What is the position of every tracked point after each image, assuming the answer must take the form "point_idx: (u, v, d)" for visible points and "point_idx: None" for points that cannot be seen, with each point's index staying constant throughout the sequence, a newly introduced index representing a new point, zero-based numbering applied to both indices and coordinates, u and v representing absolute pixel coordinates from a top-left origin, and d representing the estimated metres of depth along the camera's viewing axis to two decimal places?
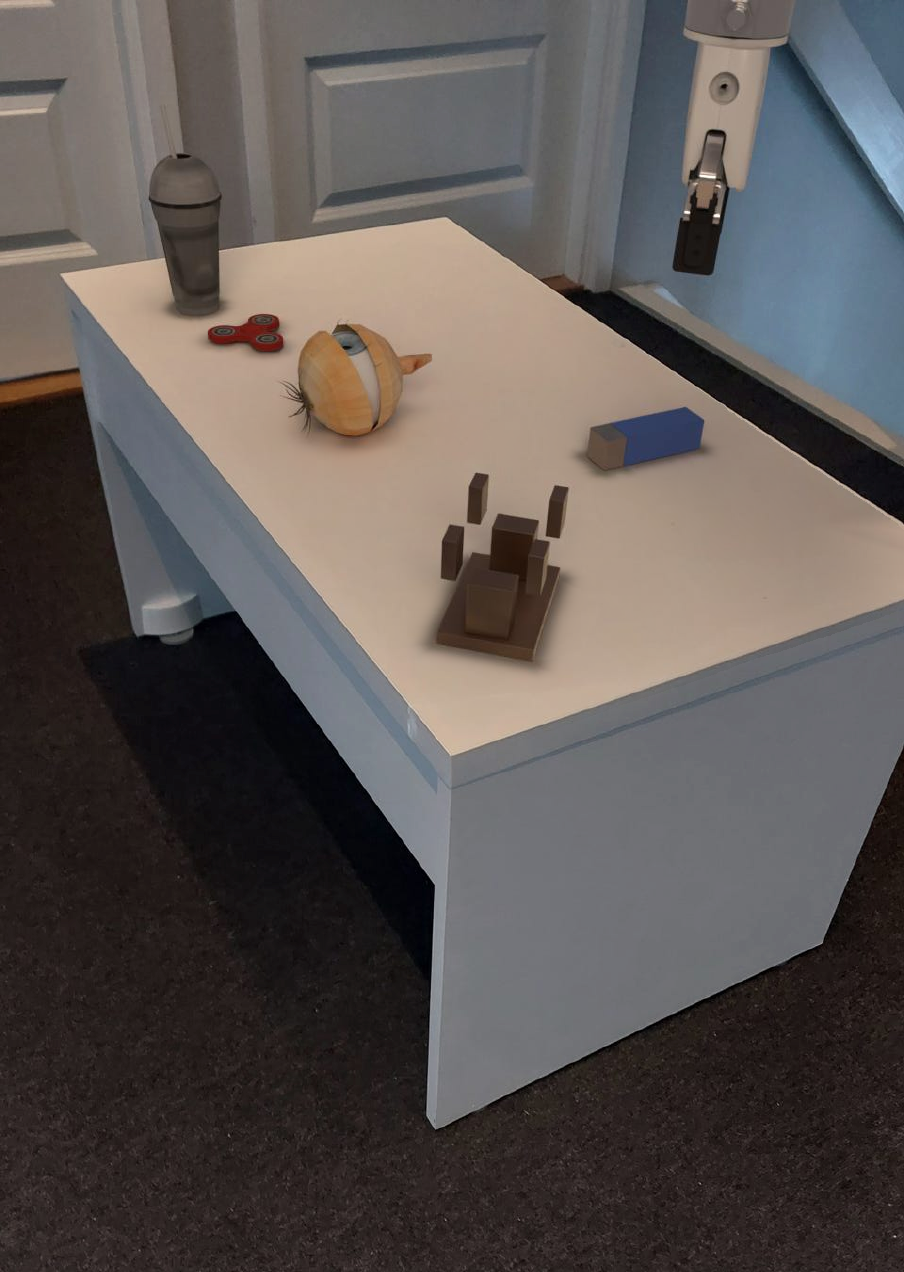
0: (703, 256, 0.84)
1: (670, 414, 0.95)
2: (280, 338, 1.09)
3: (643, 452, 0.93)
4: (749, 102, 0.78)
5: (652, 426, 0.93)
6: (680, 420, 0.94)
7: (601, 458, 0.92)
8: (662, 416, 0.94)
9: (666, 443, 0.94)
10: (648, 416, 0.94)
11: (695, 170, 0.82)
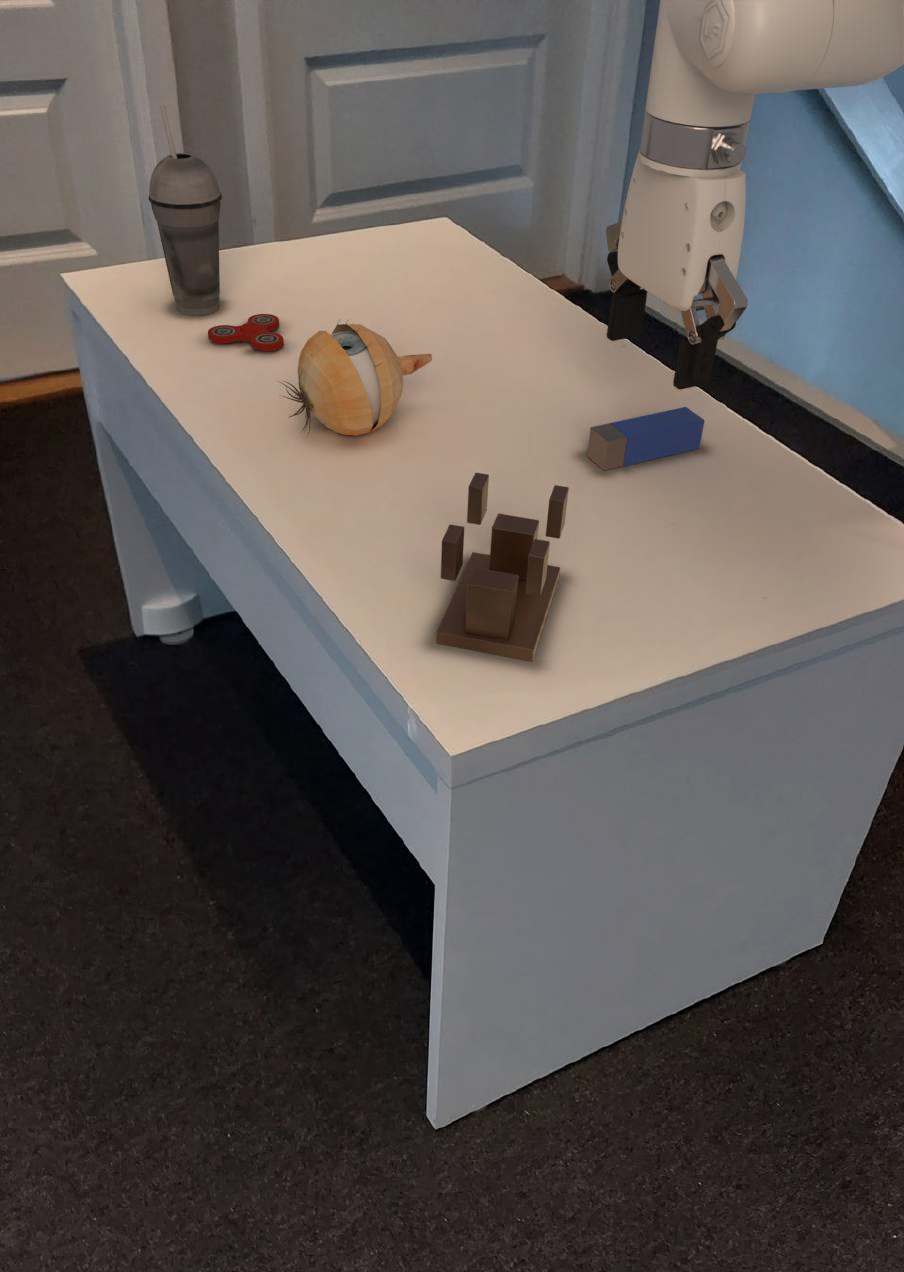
0: (708, 370, 0.85)
1: (670, 414, 0.95)
2: (280, 338, 1.09)
3: (643, 452, 0.93)
4: (741, 224, 0.80)
5: (652, 426, 0.93)
6: (680, 420, 0.94)
7: (601, 458, 0.92)
8: (662, 416, 0.94)
9: (666, 443, 0.94)
10: (648, 416, 0.94)
11: None
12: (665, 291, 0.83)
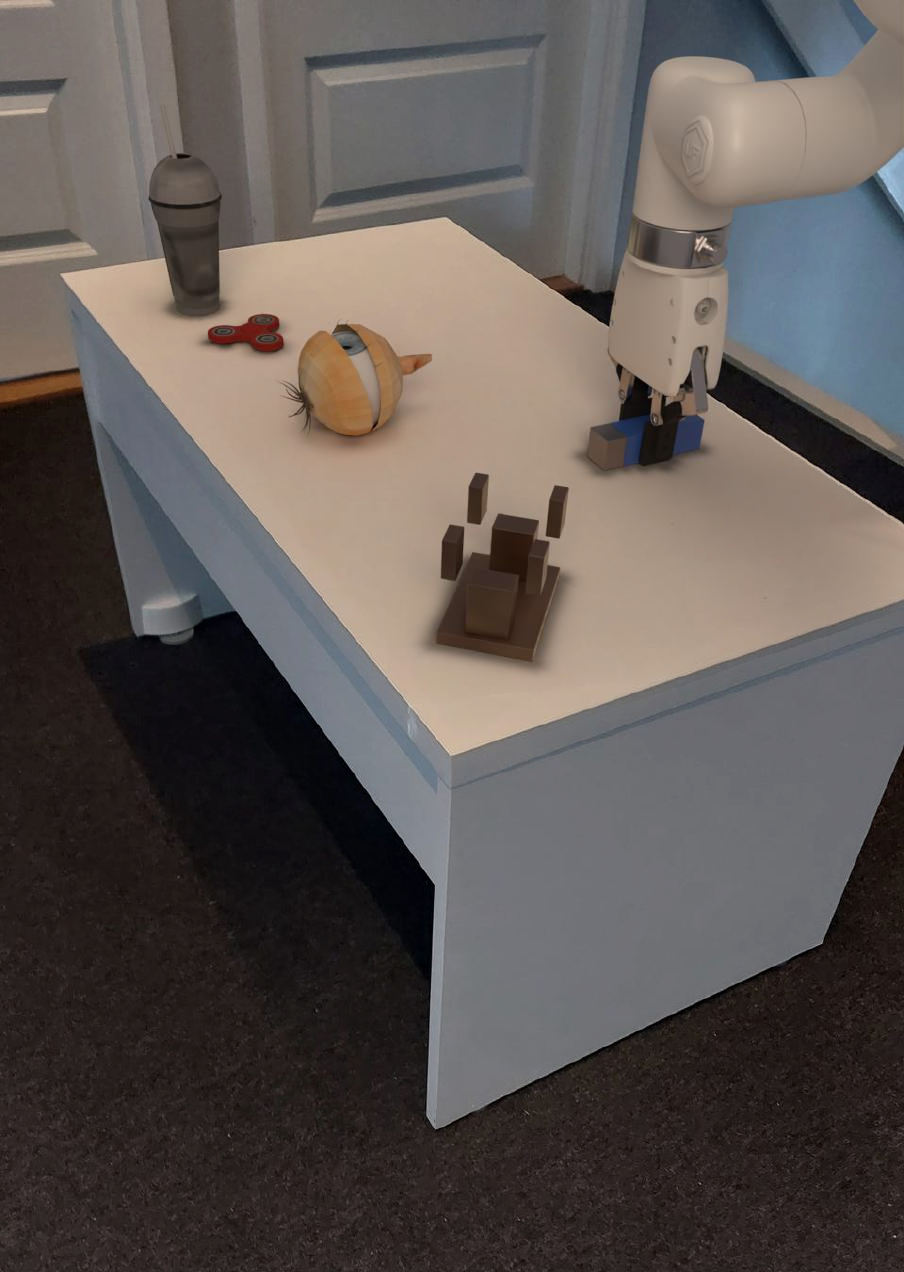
0: (670, 447, 0.92)
1: None
2: (280, 338, 1.09)
3: None
4: (724, 317, 0.84)
5: None
6: None
7: (601, 458, 0.92)
8: None
9: None
10: (648, 416, 0.94)
11: None
12: (652, 378, 0.88)
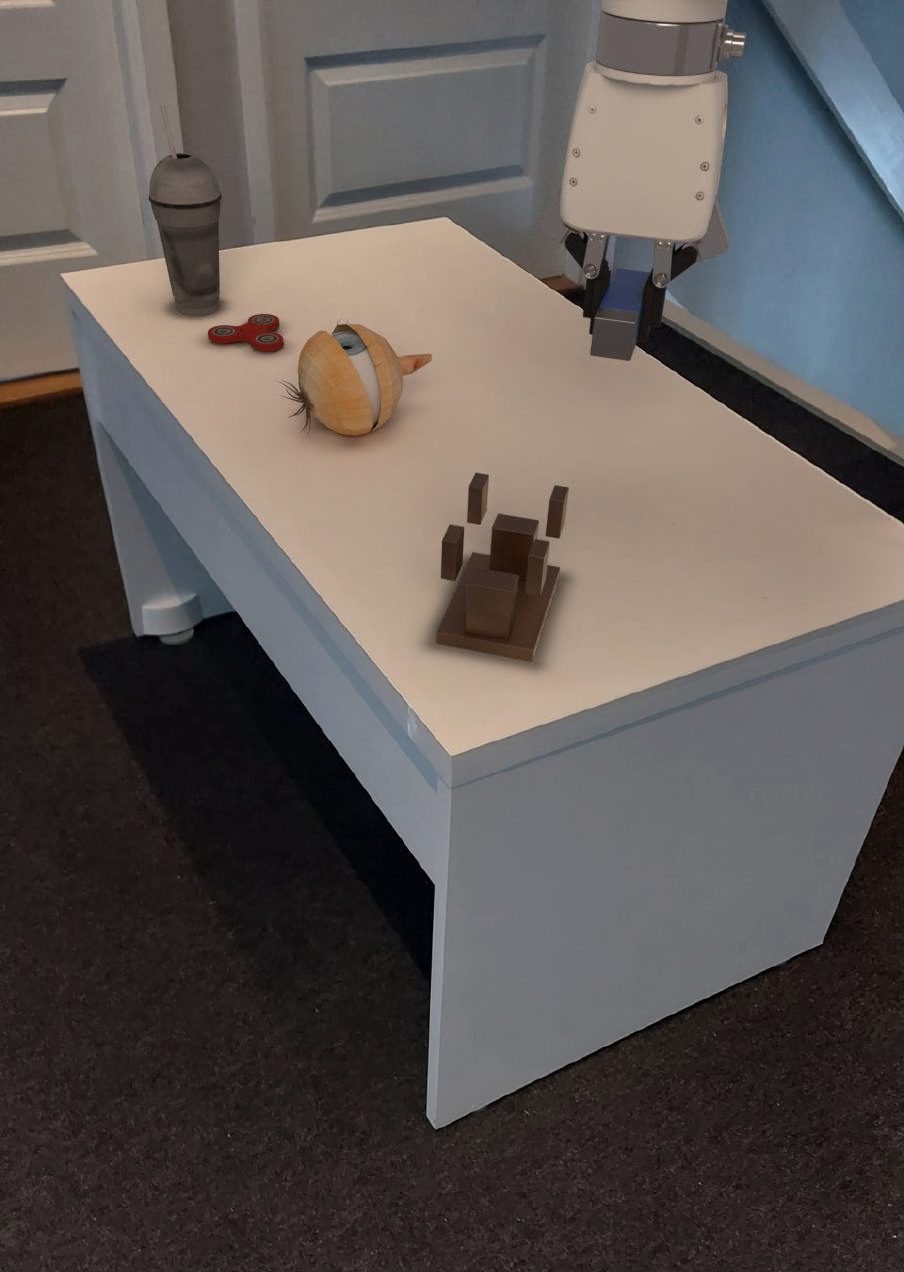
0: (662, 311, 0.78)
1: (623, 279, 0.79)
2: (280, 338, 1.09)
3: None
4: None
5: (633, 295, 0.77)
6: (640, 281, 0.79)
7: (623, 347, 0.74)
8: (621, 283, 0.79)
9: None
10: (612, 288, 0.78)
11: None
12: (667, 226, 0.72)
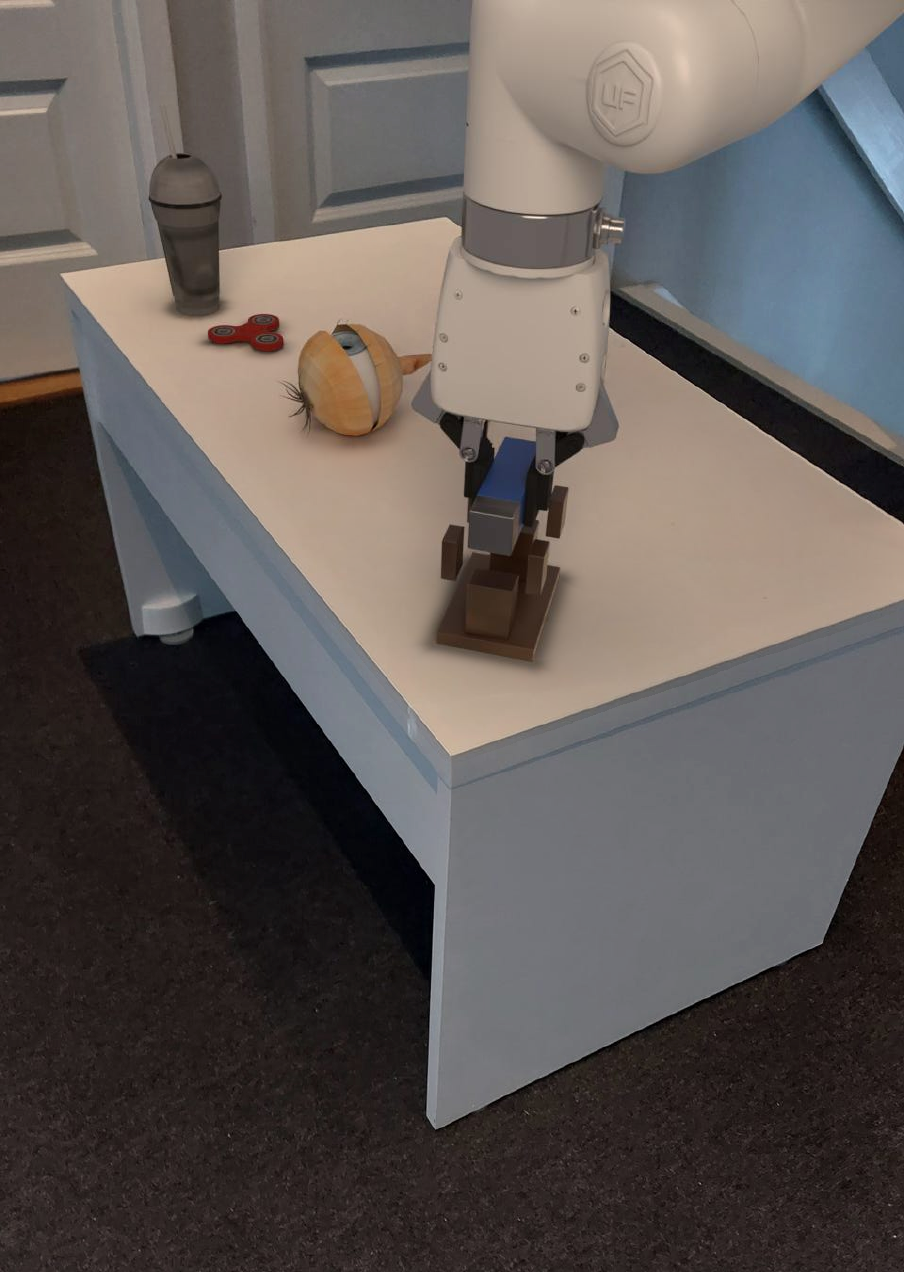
0: (551, 492, 0.71)
1: (509, 453, 0.72)
2: (280, 338, 1.09)
3: None
4: None
5: (518, 476, 0.70)
6: (528, 455, 0.72)
7: (502, 542, 0.67)
8: (506, 459, 0.71)
9: None
10: (495, 466, 0.71)
11: None
12: (547, 416, 0.64)
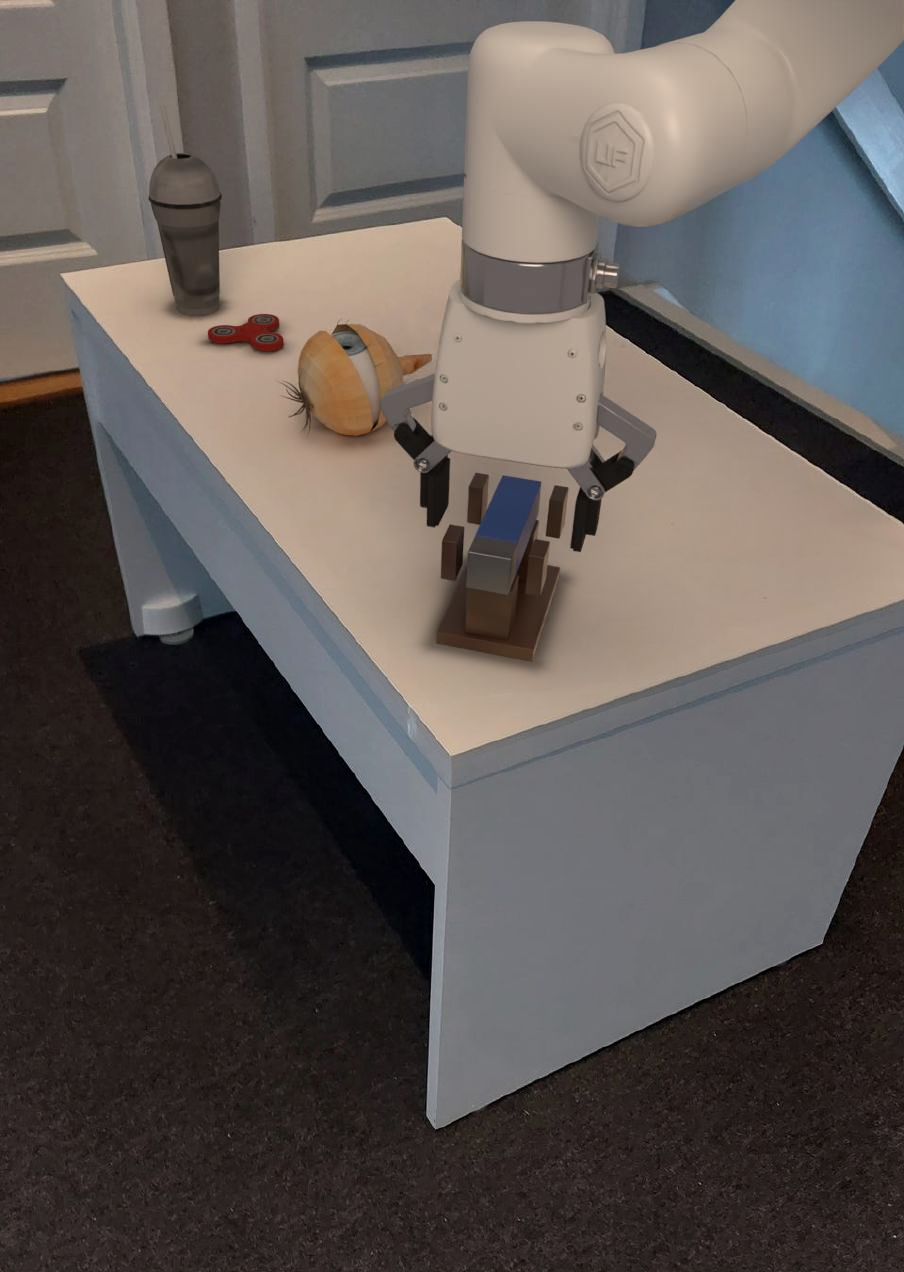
0: None
1: (506, 492, 0.74)
2: (280, 338, 1.09)
3: (521, 550, 0.72)
4: None
5: (515, 516, 0.72)
6: (525, 494, 0.74)
7: (500, 582, 0.69)
8: (504, 498, 0.73)
9: (529, 526, 0.73)
10: (493, 506, 0.73)
11: None
12: (545, 454, 0.66)
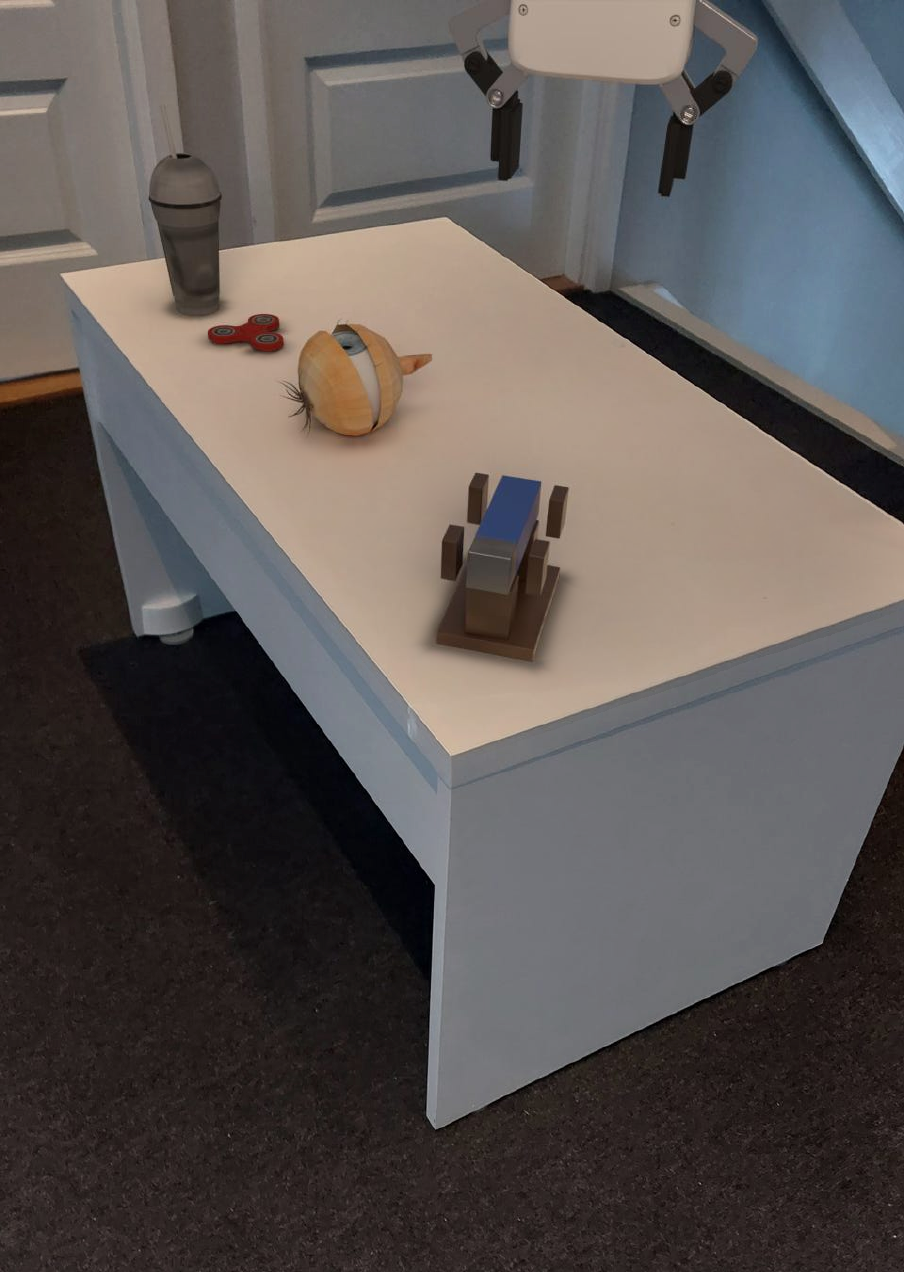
0: None
1: (506, 492, 0.74)
2: (280, 338, 1.09)
3: (521, 550, 0.72)
4: None
5: (515, 516, 0.72)
6: (525, 494, 0.74)
7: (500, 582, 0.69)
8: (504, 498, 0.73)
9: (529, 526, 0.73)
10: (493, 506, 0.73)
11: None
12: (636, 62, 0.60)
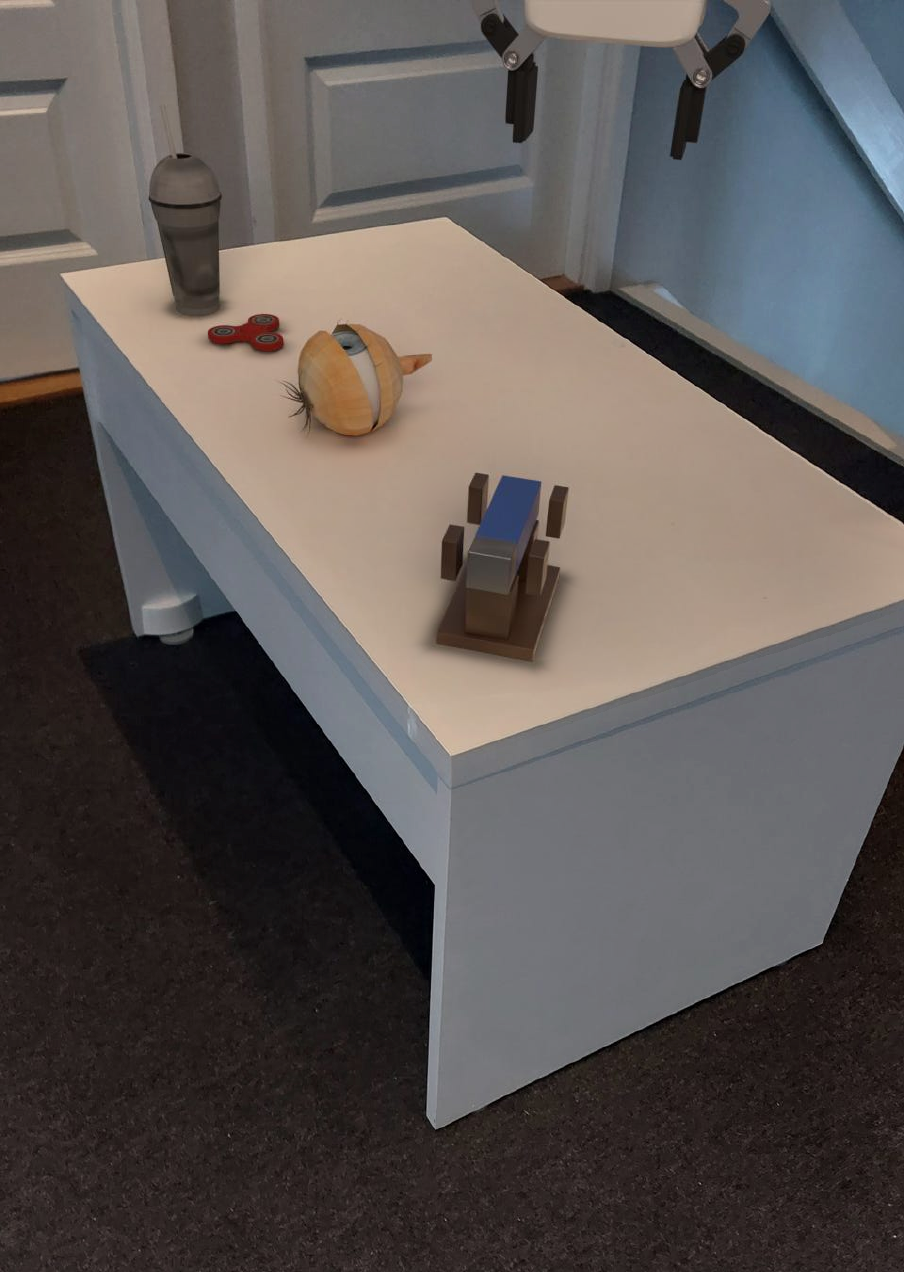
0: (700, 124, 0.65)
1: (506, 492, 0.74)
2: (280, 338, 1.09)
3: (521, 550, 0.72)
4: None
5: (515, 516, 0.72)
6: (525, 494, 0.74)
7: (500, 582, 0.69)
8: (504, 498, 0.73)
9: (529, 526, 0.73)
10: (493, 506, 0.73)
11: None
12: (650, 24, 0.61)
